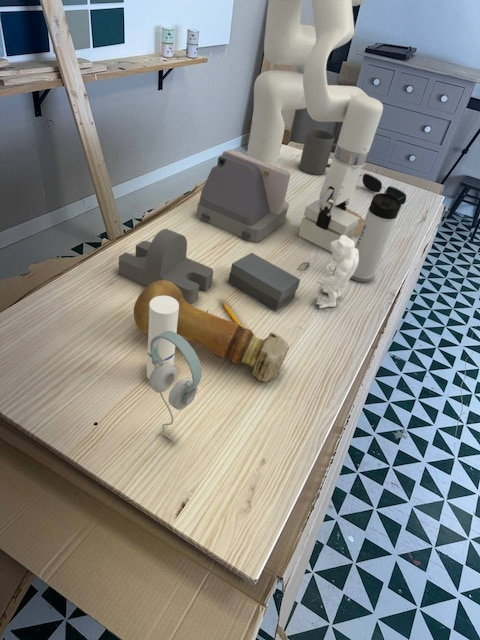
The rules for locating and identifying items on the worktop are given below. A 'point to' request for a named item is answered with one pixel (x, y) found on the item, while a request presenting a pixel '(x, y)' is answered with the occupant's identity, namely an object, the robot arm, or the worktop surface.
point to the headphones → (174, 373)
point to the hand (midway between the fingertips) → (329, 222)
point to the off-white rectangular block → (320, 234)
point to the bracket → (166, 265)
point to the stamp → (216, 333)
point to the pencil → (231, 314)
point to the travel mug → (375, 234)
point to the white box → (334, 218)
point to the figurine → (339, 269)
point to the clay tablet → (359, 225)
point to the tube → (162, 328)
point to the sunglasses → (376, 186)
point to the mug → (316, 152)
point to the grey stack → (263, 281)
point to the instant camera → (244, 196)
